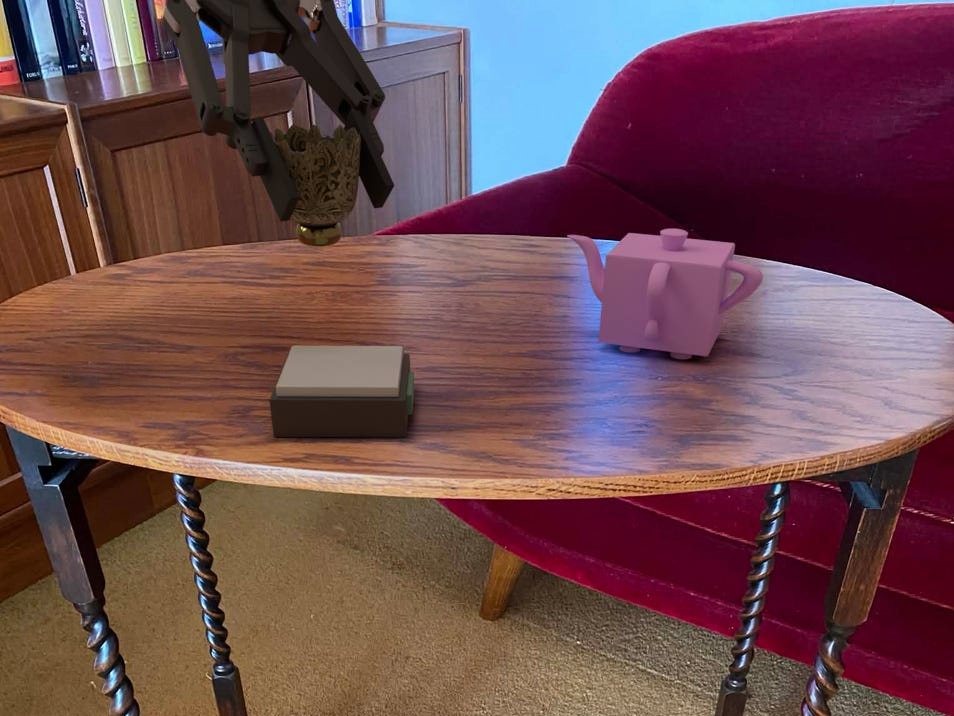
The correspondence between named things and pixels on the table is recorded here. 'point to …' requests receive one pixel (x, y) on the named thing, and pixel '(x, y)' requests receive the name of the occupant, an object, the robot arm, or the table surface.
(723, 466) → the table surface
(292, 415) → the scale
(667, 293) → the teapot
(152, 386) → the table surface
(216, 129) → the robot arm
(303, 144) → the cup
